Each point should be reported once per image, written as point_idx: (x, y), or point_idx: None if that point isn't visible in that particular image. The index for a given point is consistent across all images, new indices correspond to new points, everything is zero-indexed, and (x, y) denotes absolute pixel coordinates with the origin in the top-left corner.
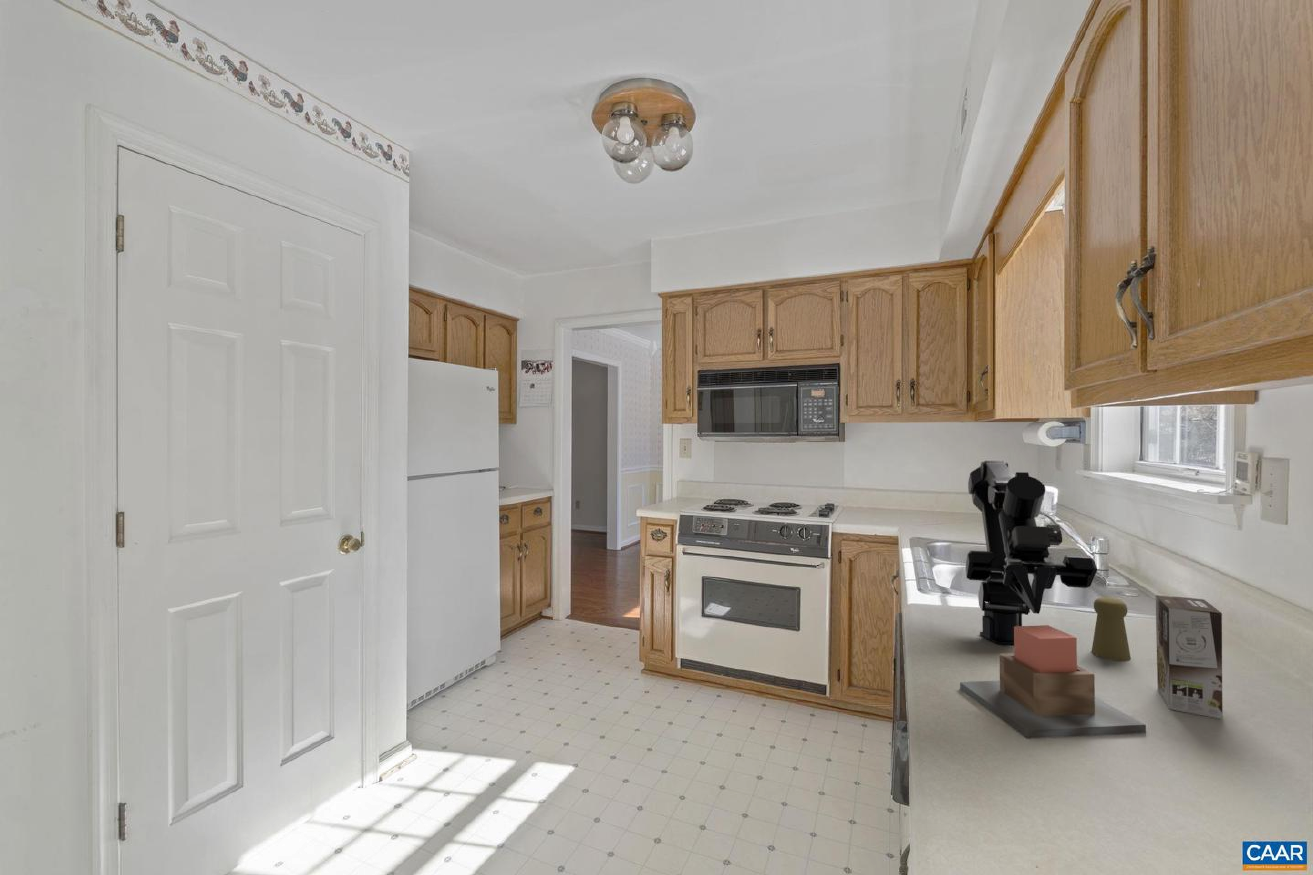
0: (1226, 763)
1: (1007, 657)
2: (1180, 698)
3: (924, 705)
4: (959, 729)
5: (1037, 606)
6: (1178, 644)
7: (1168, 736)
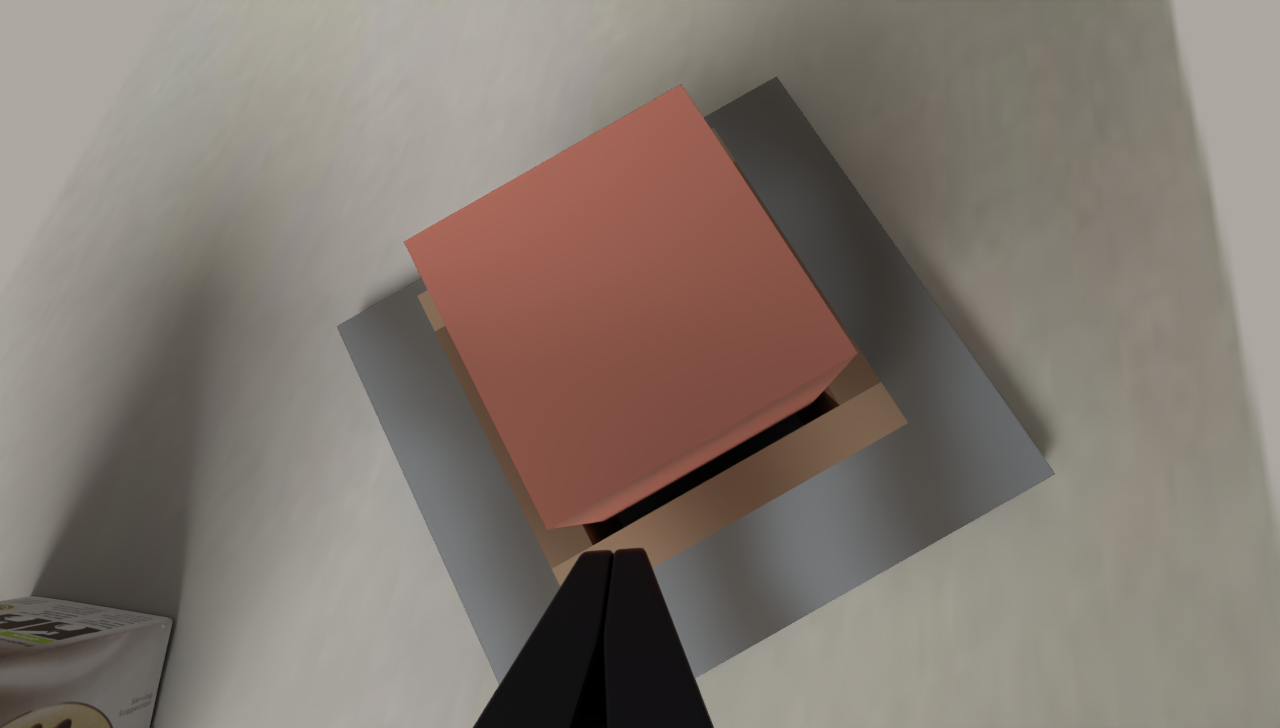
0: (205, 209)
1: (859, 370)
2: (92, 622)
3: (1178, 207)
4: (1011, 55)
5: (600, 576)
6: None
7: (290, 339)
